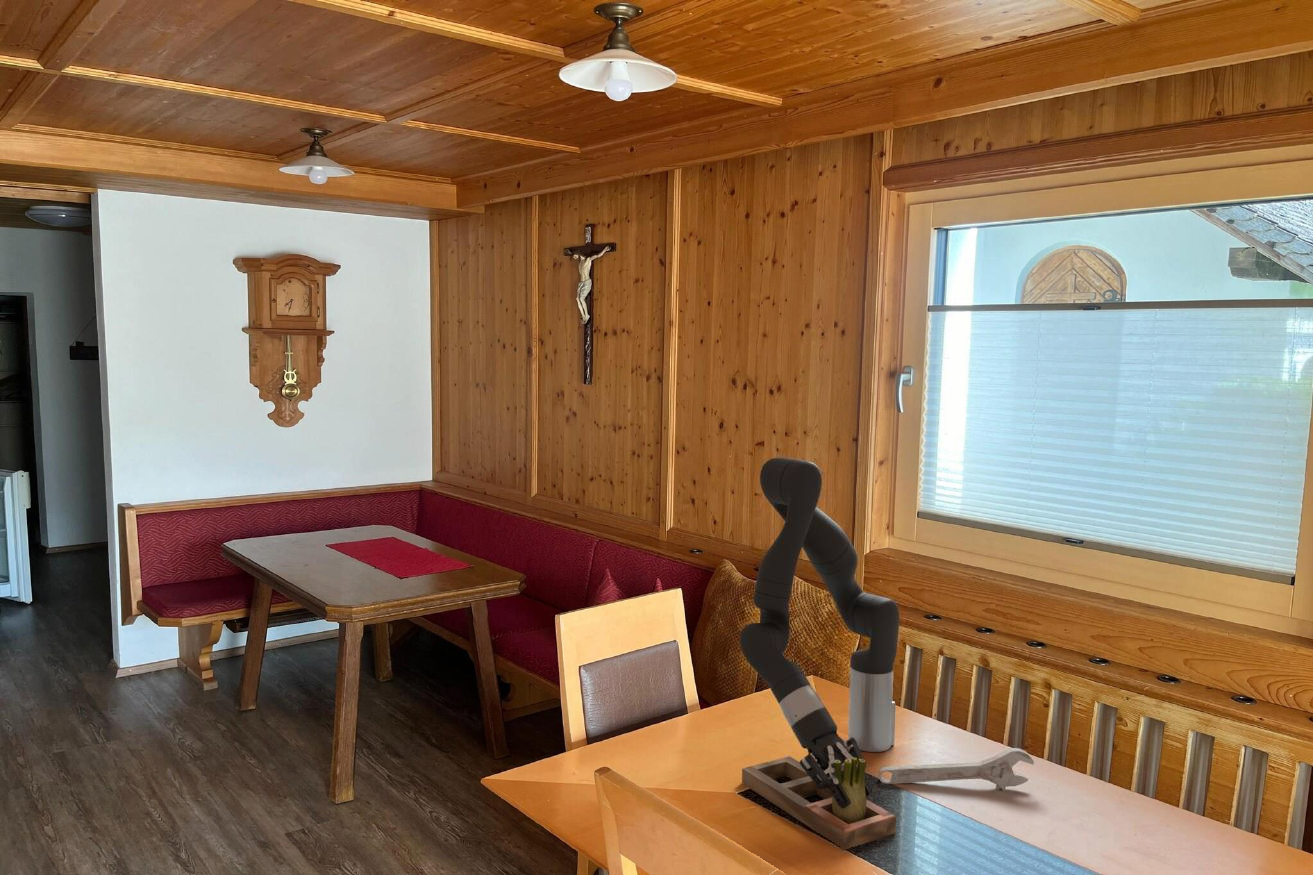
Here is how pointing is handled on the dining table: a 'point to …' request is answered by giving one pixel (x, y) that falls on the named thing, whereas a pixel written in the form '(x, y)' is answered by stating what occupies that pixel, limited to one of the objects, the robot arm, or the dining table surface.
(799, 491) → the robot arm
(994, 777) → the wrench
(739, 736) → the dining table surface
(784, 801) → the brown flat frame piece
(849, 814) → the fennel bulb
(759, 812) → the dining table surface
